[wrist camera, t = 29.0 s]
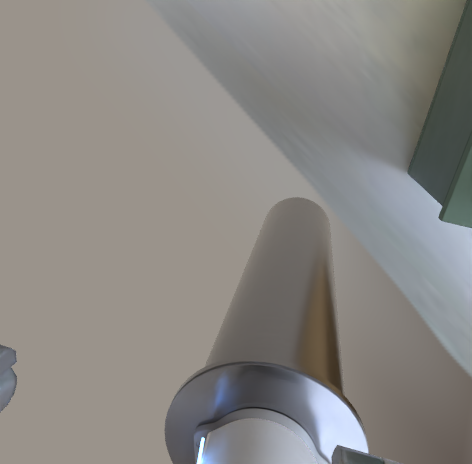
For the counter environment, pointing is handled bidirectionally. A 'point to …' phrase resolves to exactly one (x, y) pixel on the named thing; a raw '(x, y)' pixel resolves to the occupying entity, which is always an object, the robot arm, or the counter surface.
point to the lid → (460, 193)
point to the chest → (447, 117)
